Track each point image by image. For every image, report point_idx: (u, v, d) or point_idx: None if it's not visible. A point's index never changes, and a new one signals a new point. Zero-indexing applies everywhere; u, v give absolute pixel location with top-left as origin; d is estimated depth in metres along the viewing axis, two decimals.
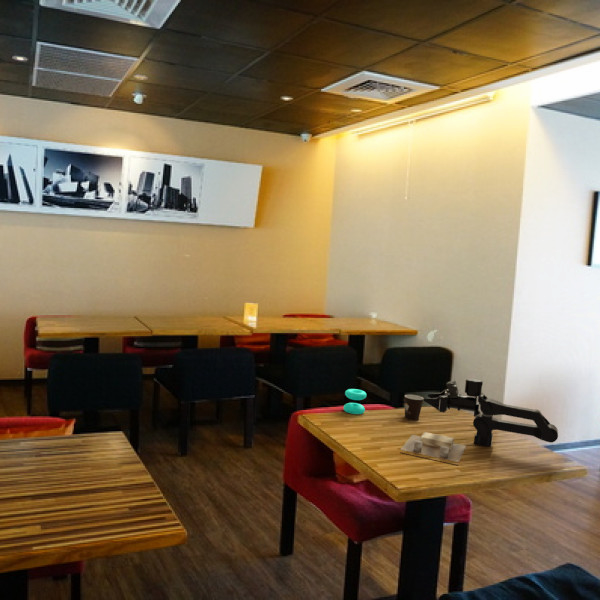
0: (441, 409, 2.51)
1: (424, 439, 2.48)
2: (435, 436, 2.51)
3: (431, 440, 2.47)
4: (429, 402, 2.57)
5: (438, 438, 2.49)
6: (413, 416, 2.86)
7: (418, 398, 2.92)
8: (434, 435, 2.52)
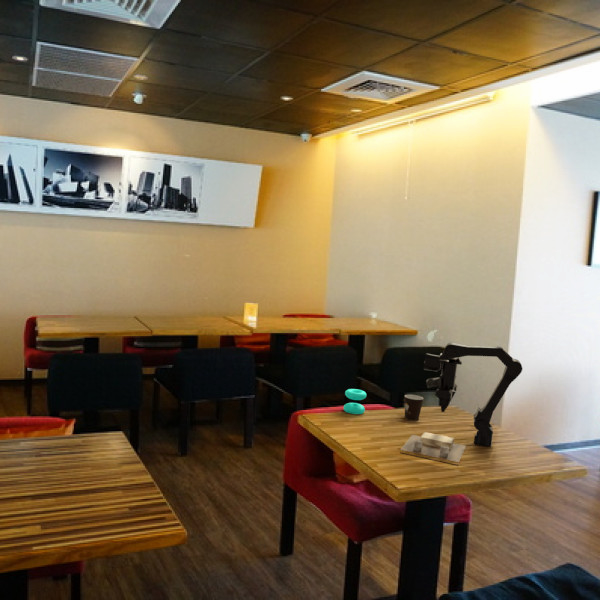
0: (447, 396, 2.48)
1: (424, 439, 2.48)
2: (435, 436, 2.51)
3: (431, 440, 2.47)
4: (444, 406, 2.54)
5: (438, 438, 2.49)
6: (413, 416, 2.86)
7: (418, 398, 2.92)
8: (434, 435, 2.52)
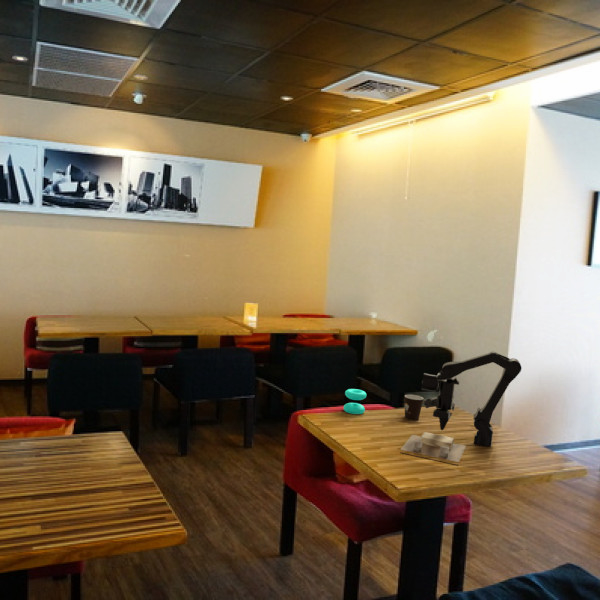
0: (445, 416, 2.49)
1: (424, 439, 2.48)
2: (435, 436, 2.51)
3: (431, 440, 2.47)
4: (443, 424, 2.58)
5: (438, 438, 2.49)
6: (413, 416, 2.86)
7: (418, 398, 2.92)
8: (434, 435, 2.52)
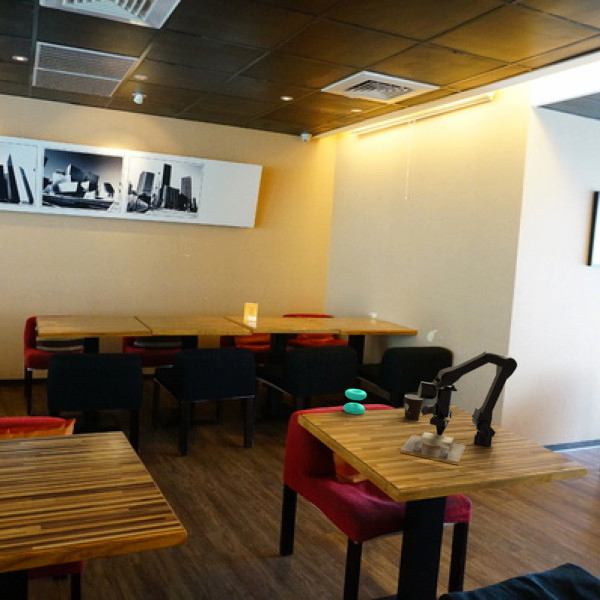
0: (441, 424, 2.45)
1: (424, 439, 2.48)
2: (435, 436, 2.51)
3: (431, 440, 2.47)
4: (440, 432, 2.53)
5: (438, 438, 2.49)
6: (413, 416, 2.86)
7: (418, 398, 2.92)
8: (434, 435, 2.52)
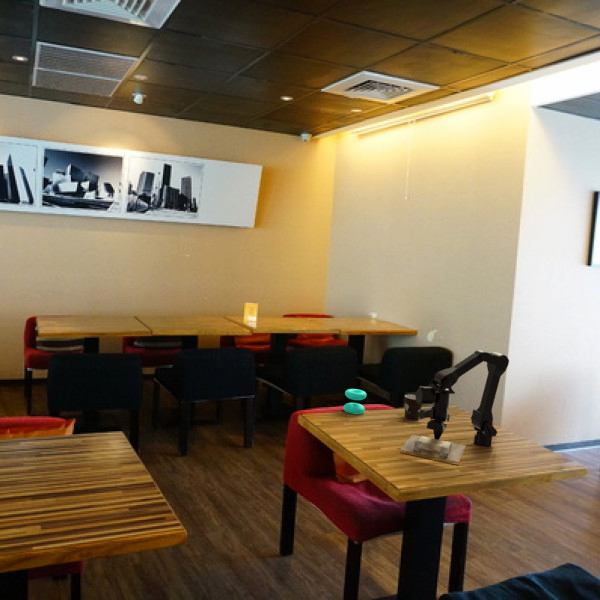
0: (439, 428, 2.39)
1: None
2: (432, 440, 2.45)
3: (428, 444, 2.41)
4: (438, 436, 2.47)
5: (435, 442, 2.43)
6: (413, 416, 2.86)
7: None
8: (431, 439, 2.46)
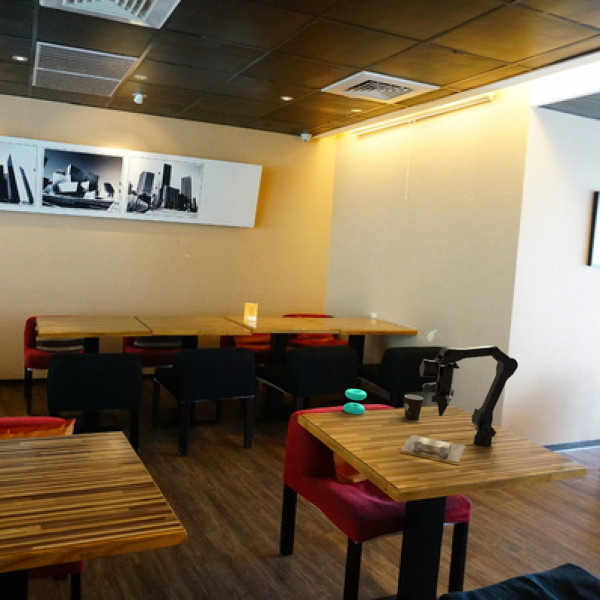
0: (444, 401, 2.42)
1: None
2: (431, 442, 2.44)
3: (427, 446, 2.40)
4: (442, 410, 2.50)
5: (435, 443, 2.42)
6: (413, 416, 2.86)
7: (418, 398, 2.92)
8: (431, 440, 2.45)
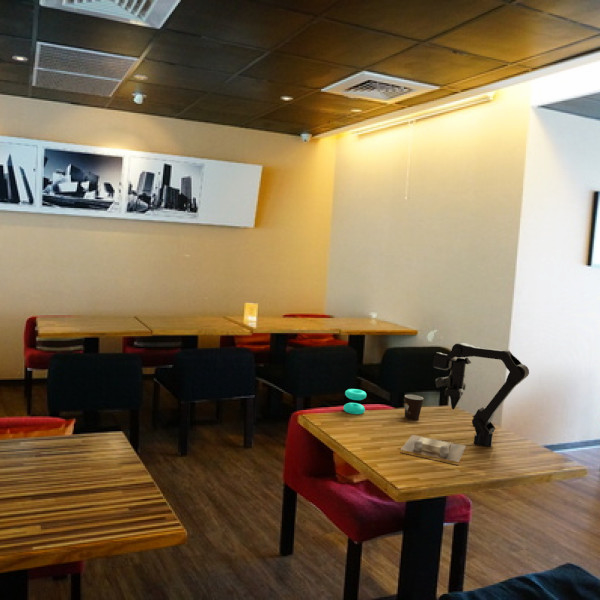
0: (456, 395, 2.52)
1: None
2: (431, 442, 2.44)
3: (427, 446, 2.40)
4: (454, 403, 2.60)
5: (435, 443, 2.42)
6: (413, 416, 2.86)
7: (418, 398, 2.92)
8: (431, 440, 2.45)
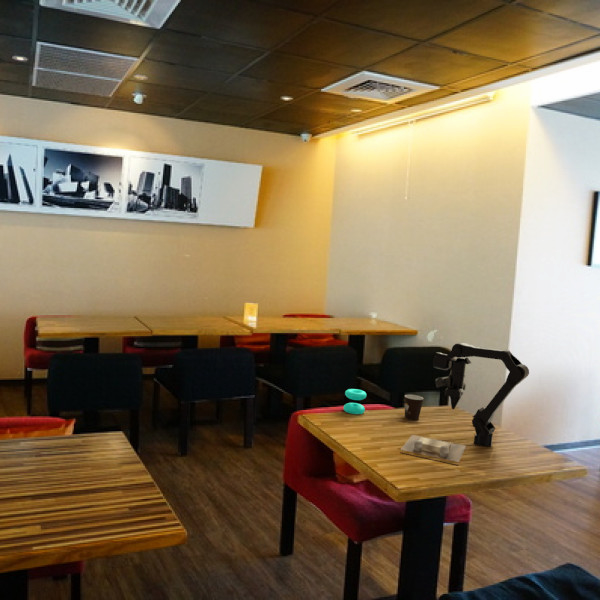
0: (456, 395, 2.52)
1: None
2: (431, 442, 2.44)
3: (427, 446, 2.40)
4: (454, 403, 2.60)
5: (435, 443, 2.42)
6: (413, 416, 2.86)
7: (418, 398, 2.92)
8: (431, 440, 2.45)
